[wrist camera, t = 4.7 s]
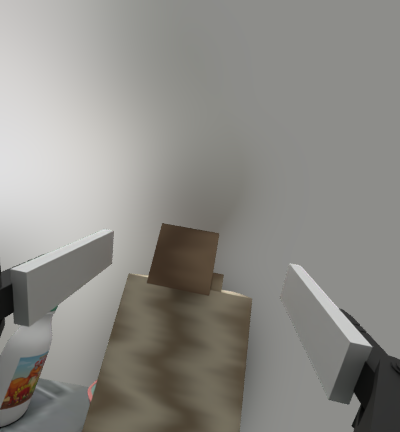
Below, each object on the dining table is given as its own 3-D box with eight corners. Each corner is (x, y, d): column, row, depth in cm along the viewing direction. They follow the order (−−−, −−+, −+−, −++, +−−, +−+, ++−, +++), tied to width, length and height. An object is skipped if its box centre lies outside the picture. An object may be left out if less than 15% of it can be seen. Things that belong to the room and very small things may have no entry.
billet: (146, 283, 11) (162, 223, 12) (183, 281, 29) (188, 258, 31) (209, 296, 10) (219, 233, 11) (205, 285, 29) (209, 262, 30)
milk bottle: (-35, 437, 31) (24, 303, 37) (-25, 407, 37) (25, 296, 43) (26, 422, 35) (69, 306, 42) (26, 398, 41) (64, 299, 47)
